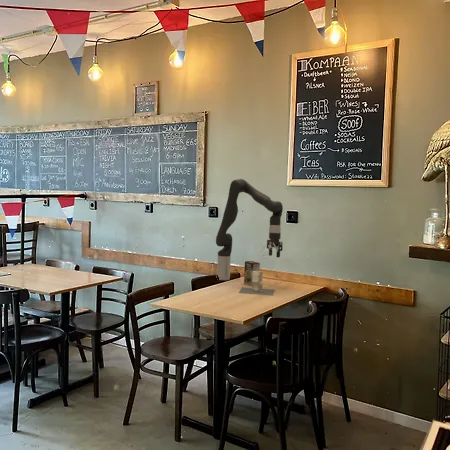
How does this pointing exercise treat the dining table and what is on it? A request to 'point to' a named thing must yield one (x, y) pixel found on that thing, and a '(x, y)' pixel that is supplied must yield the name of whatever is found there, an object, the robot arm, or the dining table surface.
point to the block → (257, 281)
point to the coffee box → (250, 271)
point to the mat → (264, 292)
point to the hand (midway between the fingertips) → (274, 256)
